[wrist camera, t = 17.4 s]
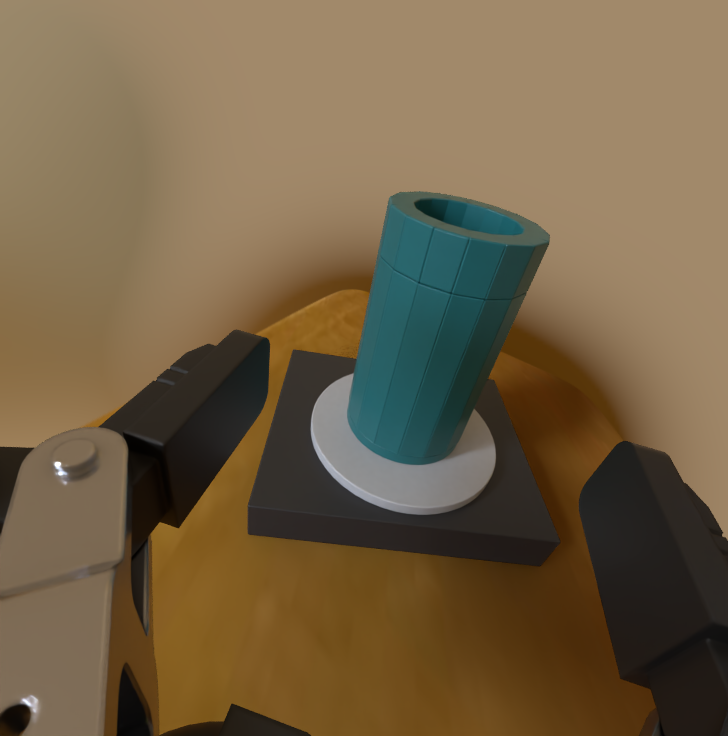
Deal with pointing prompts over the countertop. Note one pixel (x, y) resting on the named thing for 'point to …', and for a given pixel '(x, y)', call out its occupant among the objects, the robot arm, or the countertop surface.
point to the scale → (394, 479)
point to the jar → (437, 320)
